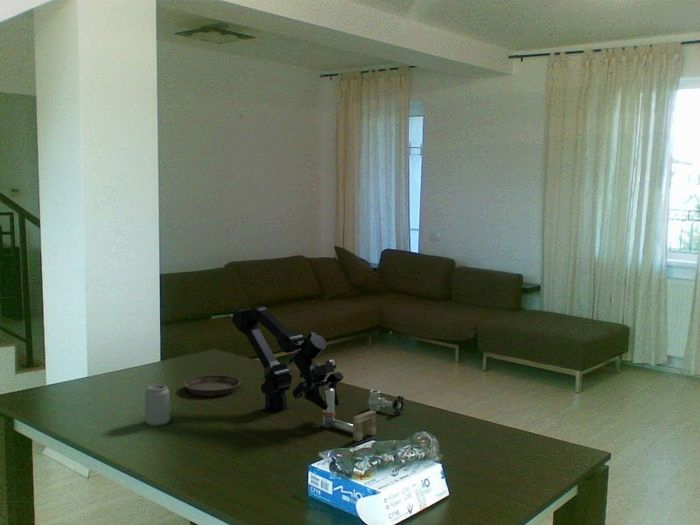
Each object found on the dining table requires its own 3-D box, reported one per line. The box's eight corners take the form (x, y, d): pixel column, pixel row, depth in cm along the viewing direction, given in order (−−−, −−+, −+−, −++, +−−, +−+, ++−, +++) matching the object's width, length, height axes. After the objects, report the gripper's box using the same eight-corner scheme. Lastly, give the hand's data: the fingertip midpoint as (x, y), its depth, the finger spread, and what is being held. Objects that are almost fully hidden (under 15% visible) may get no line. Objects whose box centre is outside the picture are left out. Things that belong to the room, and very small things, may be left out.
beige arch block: (353, 441, 202) (353, 417, 201) (370, 433, 208) (371, 410, 207) (358, 442, 201) (358, 418, 200) (376, 435, 207) (376, 411, 206)
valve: (364, 411, 229) (395, 418, 223) (364, 392, 229) (396, 398, 222) (374, 406, 235) (404, 412, 229) (374, 388, 234) (405, 393, 228)
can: (174, 421, 218) (174, 384, 217) (159, 428, 211) (158, 391, 210) (156, 417, 221) (155, 381, 220) (140, 424, 214) (139, 387, 213)
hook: (318, 425, 214) (319, 389, 213) (328, 422, 217) (328, 386, 216) (352, 436, 205) (352, 398, 203) (361, 433, 208) (362, 395, 207)
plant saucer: (213, 379, 267) (213, 371, 266) (251, 389, 255) (251, 380, 254) (172, 392, 250) (172, 383, 250) (210, 402, 238) (210, 393, 238)
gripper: (299, 357, 207) (324, 400, 201) (339, 347, 221) (365, 387, 215) (281, 378, 213) (306, 419, 207) (322, 366, 227) (346, 405, 221)
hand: (332, 407), depth 213 cm, fingers open, 5 cm apart
